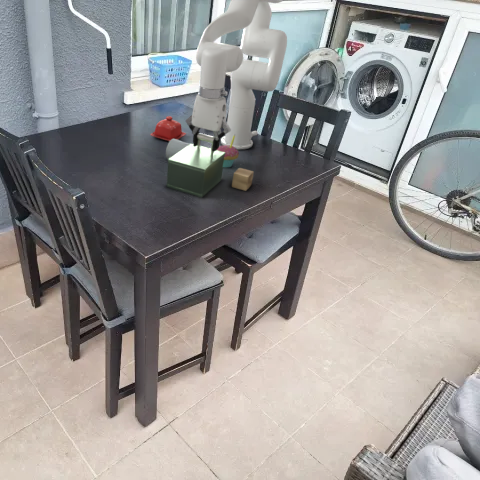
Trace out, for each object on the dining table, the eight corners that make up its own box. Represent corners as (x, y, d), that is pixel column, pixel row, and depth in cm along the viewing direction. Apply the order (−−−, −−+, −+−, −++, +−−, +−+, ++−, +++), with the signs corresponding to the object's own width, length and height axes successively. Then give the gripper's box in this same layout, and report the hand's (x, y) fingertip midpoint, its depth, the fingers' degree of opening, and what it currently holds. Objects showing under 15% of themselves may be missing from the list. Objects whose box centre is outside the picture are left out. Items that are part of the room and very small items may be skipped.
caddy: (187, 170, 155) (189, 146, 150) (221, 180, 150) (224, 155, 145) (166, 186, 145) (167, 161, 140) (201, 197, 139) (204, 171, 134)
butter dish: (187, 136, 182) (189, 115, 177) (173, 144, 174) (174, 123, 169) (163, 129, 187) (164, 109, 182) (148, 138, 179) (149, 117, 174)
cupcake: (239, 162, 163) (243, 130, 156) (234, 171, 156) (239, 139, 149) (216, 158, 165) (219, 127, 158) (210, 167, 158) (214, 135, 151)
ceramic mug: (185, 167, 157) (186, 147, 153) (164, 162, 160) (165, 141, 156) (197, 157, 165) (199, 138, 161) (178, 152, 168) (179, 133, 164)
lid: (190, 145, 151) (192, 129, 148) (225, 154, 146) (227, 137, 142) (167, 161, 139) (168, 144, 136) (204, 171, 134) (206, 153, 131)
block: (237, 181, 150) (239, 167, 147) (251, 185, 148) (253, 171, 145) (231, 186, 146) (233, 173, 143) (245, 191, 144) (248, 177, 141)
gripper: (242, 94, 135) (234, 150, 145) (191, 84, 142) (187, 138, 152) (232, 100, 129) (225, 157, 140) (180, 90, 136) (176, 145, 147)
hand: (205, 147), depth 146 cm, fingers closed on lid, 6 cm apart
